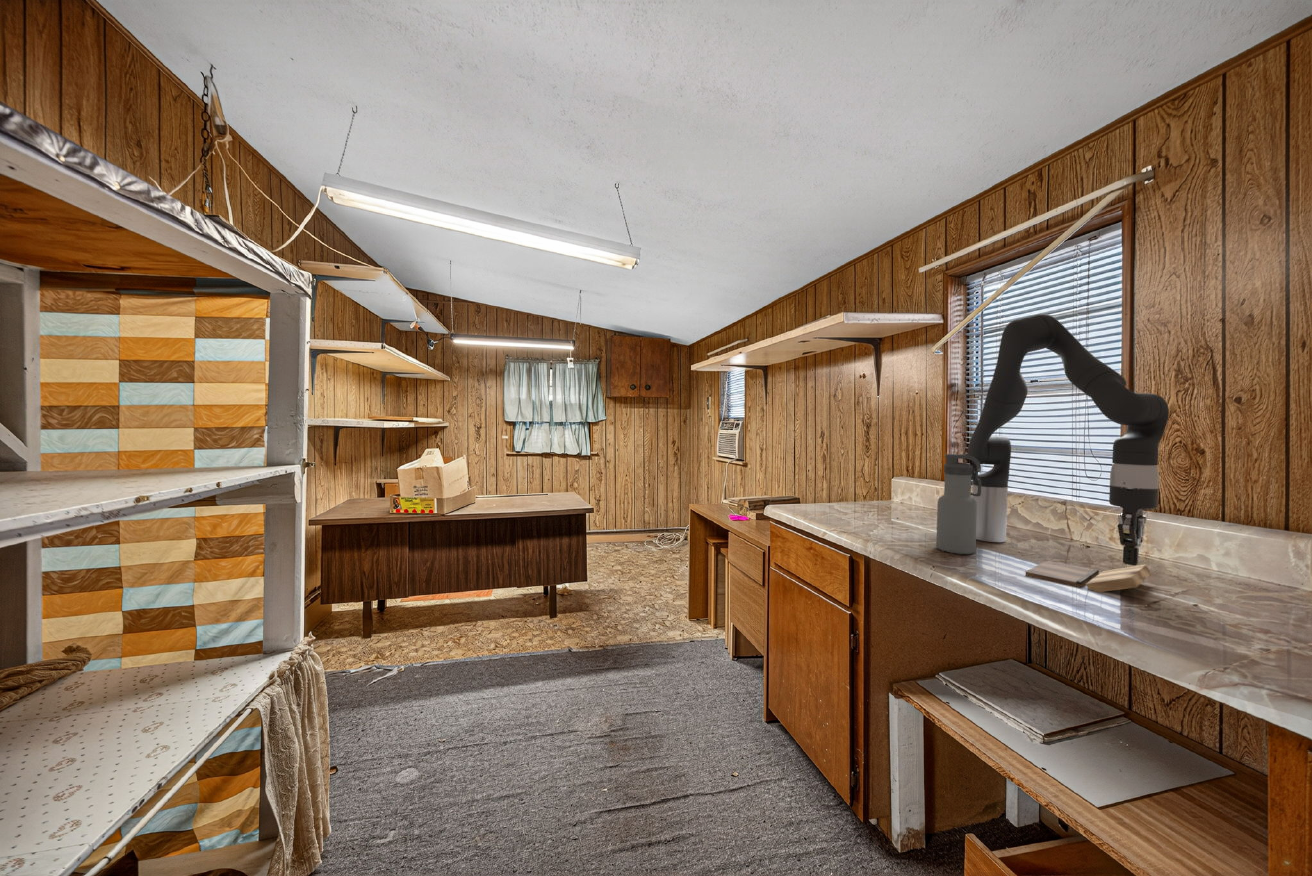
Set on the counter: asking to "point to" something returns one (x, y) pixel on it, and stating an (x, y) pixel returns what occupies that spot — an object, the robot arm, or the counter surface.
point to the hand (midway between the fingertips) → (1130, 564)
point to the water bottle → (958, 506)
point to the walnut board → (1063, 573)
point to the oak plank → (1119, 578)
